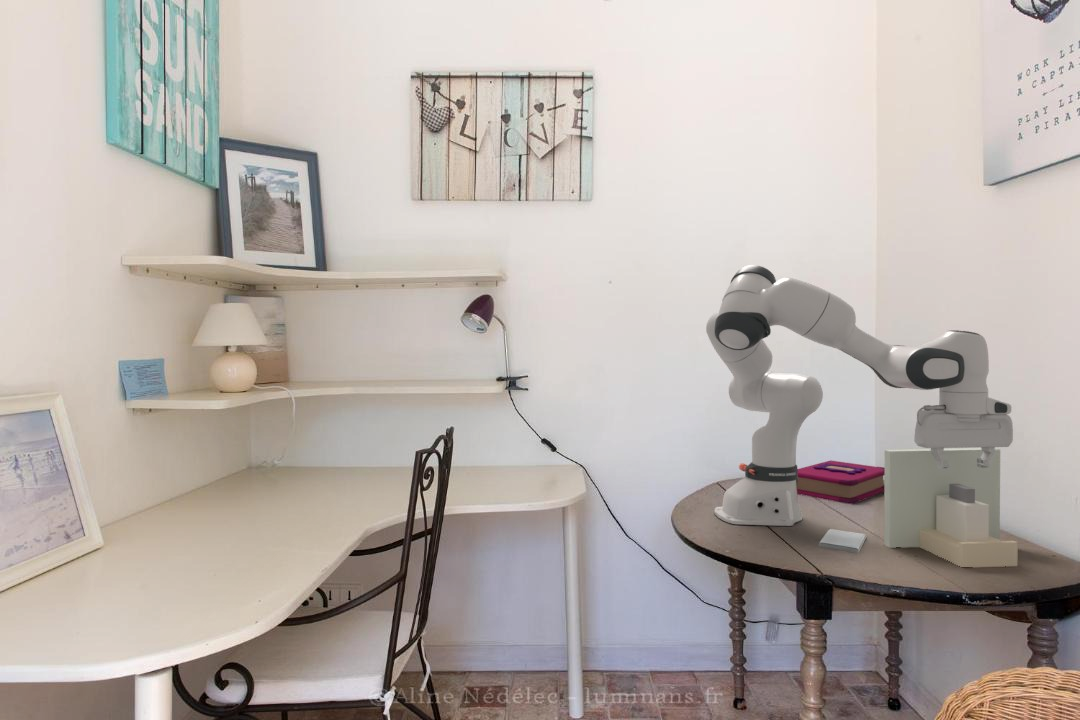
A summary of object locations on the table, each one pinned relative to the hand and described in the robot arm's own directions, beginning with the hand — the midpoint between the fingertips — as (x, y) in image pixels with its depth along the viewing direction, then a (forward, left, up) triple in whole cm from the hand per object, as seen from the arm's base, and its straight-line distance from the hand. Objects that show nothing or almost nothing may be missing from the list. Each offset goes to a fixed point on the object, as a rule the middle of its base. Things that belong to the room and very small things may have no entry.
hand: (962, 467), depth 134 cm
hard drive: (-21, +10, -20) cm, 31 cm away
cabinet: (0, 0, -15) cm, 15 cm away
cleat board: (0, -1, -19) cm, 19 cm away
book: (+4, +59, -20) cm, 62 cm away
